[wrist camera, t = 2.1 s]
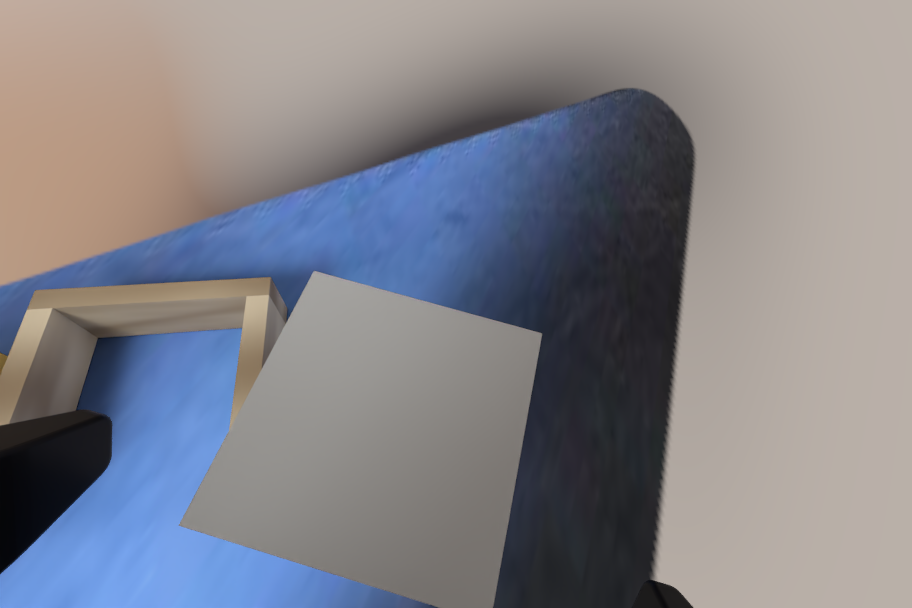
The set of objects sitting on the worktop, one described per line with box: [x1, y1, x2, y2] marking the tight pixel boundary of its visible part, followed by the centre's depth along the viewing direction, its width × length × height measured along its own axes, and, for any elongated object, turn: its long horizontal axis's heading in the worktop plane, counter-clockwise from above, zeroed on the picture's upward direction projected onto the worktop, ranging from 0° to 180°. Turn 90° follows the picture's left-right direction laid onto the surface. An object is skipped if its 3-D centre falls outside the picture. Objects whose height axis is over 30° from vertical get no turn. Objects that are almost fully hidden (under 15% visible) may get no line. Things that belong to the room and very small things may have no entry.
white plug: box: [179, 271, 542, 608], centre depth 11 cm, size 4×4×10 cm
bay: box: [0, 277, 287, 430], centre depth 15 cm, size 8×8×2 cm
